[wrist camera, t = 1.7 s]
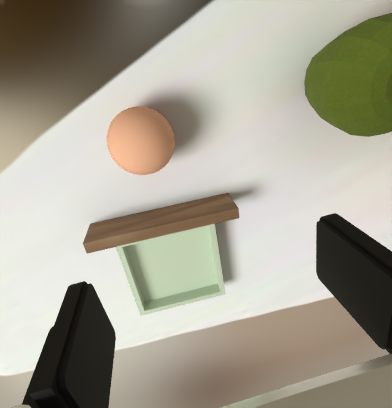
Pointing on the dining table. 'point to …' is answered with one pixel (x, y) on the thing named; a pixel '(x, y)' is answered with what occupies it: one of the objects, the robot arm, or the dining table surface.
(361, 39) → the apple
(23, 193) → the dining table surface
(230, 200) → the board
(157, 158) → the ball
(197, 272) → the tray
